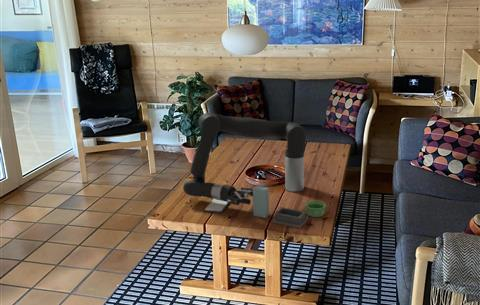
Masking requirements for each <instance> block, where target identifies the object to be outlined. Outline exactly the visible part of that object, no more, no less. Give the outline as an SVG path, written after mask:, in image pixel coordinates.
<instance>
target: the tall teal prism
mask: <svg viewBox="0 0 480 305" xmlns="http://www.w3.org/2000/svg"><path fill="white" fill-rule="evenodd" d="M252 189H253V196H252V205H253V206H252V207H253V209H252V210H253V216H254V217H259V218H263V219H264V218H265V219H266V218H268V216H270V196H269V195H270V192H269V191H270V189H269V187H267V186H259V185H255V186H254V187H253V188H252Z"/></svg>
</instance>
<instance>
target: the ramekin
mask: <svg viewBox="0 0 480 305" xmlns="http://www.w3.org/2000/svg"><path fill="white" fill-rule="evenodd" d="M326 207H327V204H326V203H325V202H324V201H322V200H321V201H320V200H309V201H306V203H305V209H306V210H305V212H306V216H308V217H313V218H321V217H323V216H324V215H325V212H326Z"/></svg>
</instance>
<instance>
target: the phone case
mask: <svg viewBox="0 0 480 305" xmlns="http://www.w3.org/2000/svg"><path fill="white" fill-rule="evenodd" d="M229 205H230V203H227V202H226V201H221V200H216V199H213V198H212V199H211V201H210V202H209V203H208V205H207V206H206V207H205V208H204V212H205V213H212V214H222V213H224V211H225V210H226V209H227V207H228V206H229Z"/></svg>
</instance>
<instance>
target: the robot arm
mask: <svg viewBox="0 0 480 305" xmlns="http://www.w3.org/2000/svg"><path fill="white" fill-rule="evenodd" d="M198 126H199V128H200V129H201V131H200V133H201V134H200V139H199V140H200V141H199V144H198V147H197V149H196V151H195V153H194V156H193V158H192V163H191V167H190V174H191V175H192V179H190V180H187V181H186V182H185V183H184V184H183V188H182V190H183V191H184V193H185V194H186V195H188V196H192V197H204V198H209V199H212V200H213V199H216V200H221V201H226V202H227V203H229V205H230V204H231V205H234V206H239V205H242V204H243V205H244V204H246V205H250V204H251V202H252V201H251V199H249V198H248V197H253V188H252V187H251V188H249V187H243V186H241V187H240V189H236V188H235V186H233V185H228V184H223V183H214V182H206V171H207V166H208V163H209V159H210V156H211V152H212V148H213V145H214V142H215V140H216V137H217V135H218V134H219V132H224V133H225V132H226V133H231V134H234V135H236V136H240V137H242V138H243V137H244V138H249V139H250V138H252V139H264V138H265V139H266V138H271V137H275V138H281V139H285V140H286V141H287V146H286V147H287V148H286V149H285V150H284V151H285V152H284V166H285V167H284V170H285V171H284V173H285V174H284V176H285V177H284V179H285V180H284V184H285V185H284V186H285V187H284V188H285V190H287V191H289V192H292V193H293V192H294V193H295V192H302V191H303V190H304V189H305V188H304V186H305V151H306V145H307V144H306V143H307V134H306V129H304V127H303V126H302V125H300V124H298V123H297V122H290V121H289V122H286V121H285V122H283V121H282V122H281V121H271V120H267V119H259V118H252V117H241V116H227V115H223V114H222V115H221V114H218V113H213V112H205V113H203V114H201V115H200V116H199V118H198Z"/></svg>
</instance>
